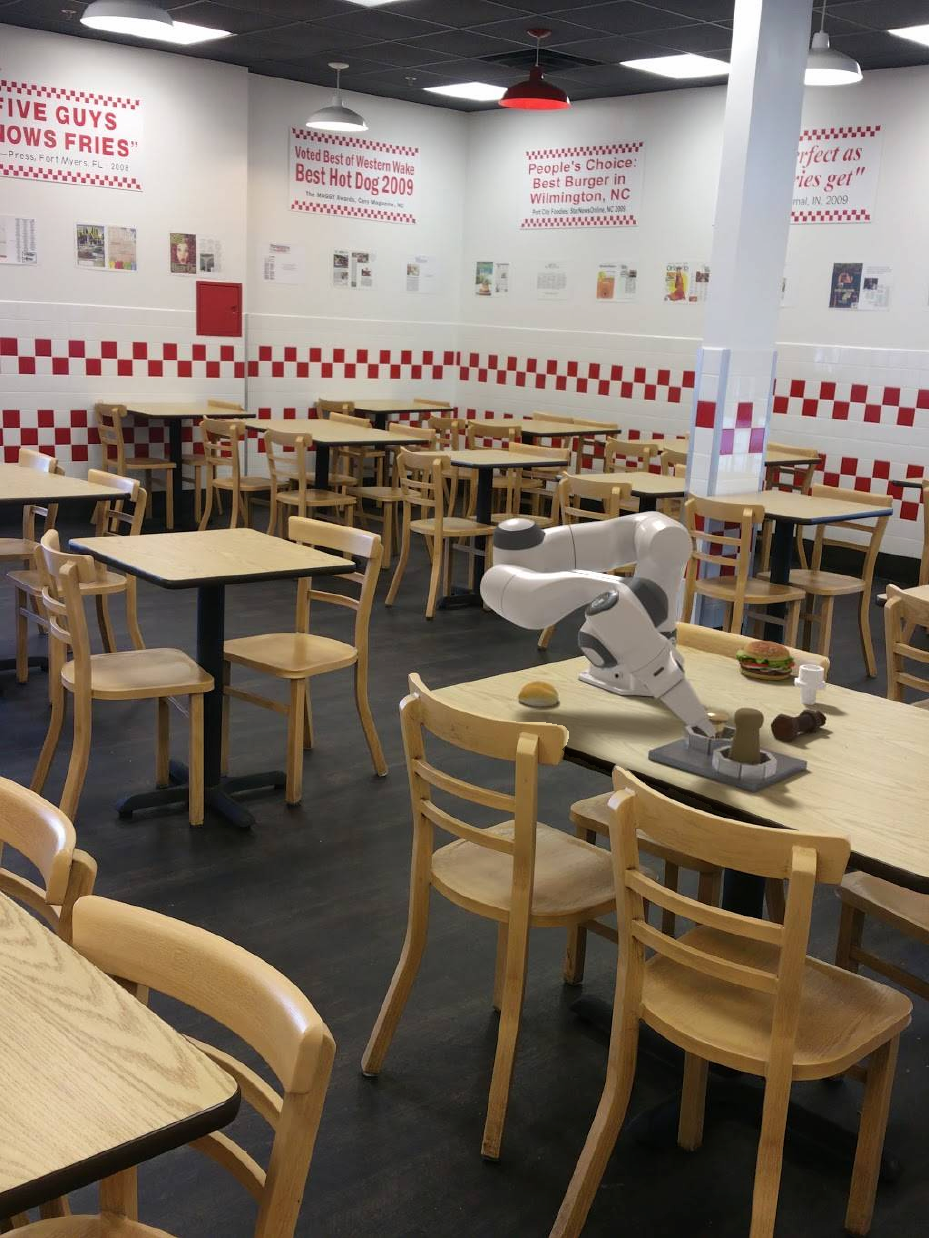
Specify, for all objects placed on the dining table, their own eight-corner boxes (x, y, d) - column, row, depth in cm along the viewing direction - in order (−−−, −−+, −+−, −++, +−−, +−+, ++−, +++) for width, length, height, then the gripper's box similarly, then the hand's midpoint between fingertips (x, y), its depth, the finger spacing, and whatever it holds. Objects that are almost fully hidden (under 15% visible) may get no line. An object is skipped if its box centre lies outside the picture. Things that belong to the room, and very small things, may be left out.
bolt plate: (647, 758, 219) (651, 719, 217) (702, 738, 233) (706, 701, 231) (754, 792, 204) (759, 751, 203) (806, 769, 218) (811, 730, 217)
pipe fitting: (830, 705, 261) (834, 670, 259) (802, 707, 258) (806, 671, 257) (812, 697, 267) (817, 663, 265) (785, 699, 264) (789, 664, 262)
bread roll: (515, 705, 248) (516, 687, 247) (523, 694, 257) (524, 676, 256) (554, 710, 246) (555, 691, 245) (561, 698, 255) (562, 680, 254)
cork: (740, 776, 208) (747, 715, 206) (718, 764, 213) (725, 705, 211) (767, 772, 211) (774, 713, 208) (745, 761, 216) (752, 703, 213)
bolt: (821, 736, 245) (783, 748, 234) (803, 719, 247) (765, 730, 237) (837, 716, 242) (800, 727, 231) (819, 699, 244) (781, 709, 234)
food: (747, 663, 295) (751, 632, 293) (801, 675, 286) (805, 643, 284) (721, 672, 284) (725, 640, 282) (776, 685, 276) (780, 652, 274)
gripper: (638, 664, 219) (686, 718, 221) (651, 695, 199) (703, 755, 201) (665, 642, 218) (713, 697, 219) (680, 671, 198) (733, 731, 200)
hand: (708, 725), depth 210 cm, fingers open, 8 cm apart
